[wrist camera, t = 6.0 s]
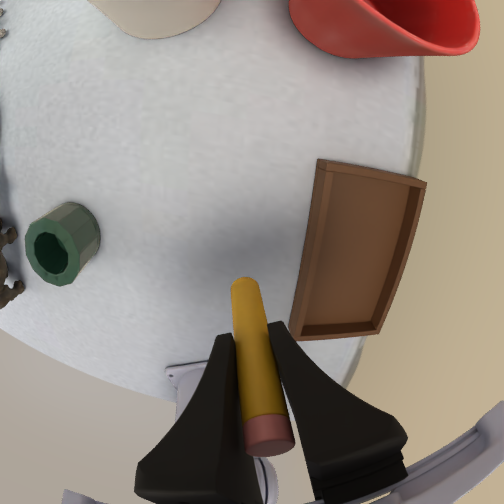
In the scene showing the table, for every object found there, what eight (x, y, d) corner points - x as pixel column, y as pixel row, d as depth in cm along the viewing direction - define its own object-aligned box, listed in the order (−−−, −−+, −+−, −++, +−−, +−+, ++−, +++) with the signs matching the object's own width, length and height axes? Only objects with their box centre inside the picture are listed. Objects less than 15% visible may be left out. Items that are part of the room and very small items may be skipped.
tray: (370, 322, 26) (379, 334, 24) (287, 327, 25) (292, 341, 23) (413, 177, 20) (427, 182, 18) (317, 158, 18) (327, 162, 17)
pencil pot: (109, 253, 20) (90, 278, 16) (65, 266, 20) (43, 291, 16) (86, 193, 17) (61, 209, 14) (42, 213, 17) (15, 231, 14)
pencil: (261, 296, 16) (298, 451, 7) (234, 303, 16) (251, 460, 7) (255, 273, 15) (293, 434, 6) (227, 280, 15) (238, 445, 6)
